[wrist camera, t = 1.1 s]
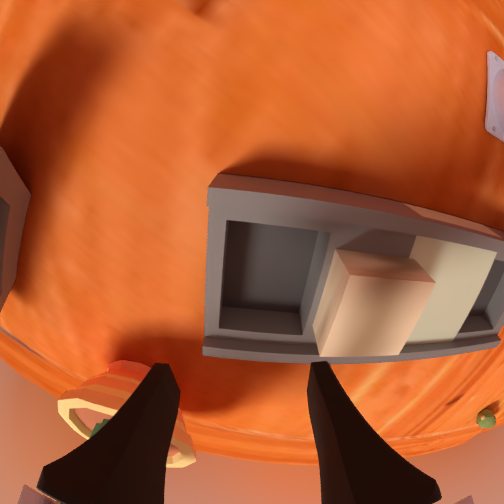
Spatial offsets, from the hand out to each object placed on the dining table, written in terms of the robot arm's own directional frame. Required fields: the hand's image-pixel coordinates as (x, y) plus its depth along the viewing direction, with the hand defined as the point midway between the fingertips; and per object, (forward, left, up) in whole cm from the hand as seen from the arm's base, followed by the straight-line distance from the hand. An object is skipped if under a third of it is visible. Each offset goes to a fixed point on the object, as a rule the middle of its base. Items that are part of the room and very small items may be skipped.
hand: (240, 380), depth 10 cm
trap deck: (-13, 0, -10) cm, 17 cm away
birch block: (-8, 0, -7) cm, 11 cm away
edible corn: (-66, +39, -11) cm, 77 cm away
